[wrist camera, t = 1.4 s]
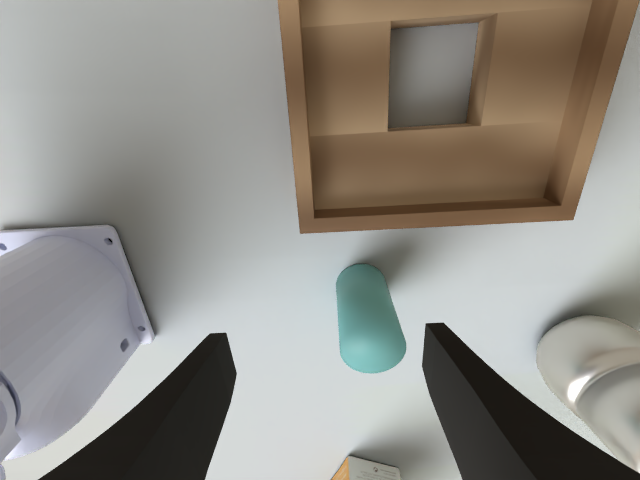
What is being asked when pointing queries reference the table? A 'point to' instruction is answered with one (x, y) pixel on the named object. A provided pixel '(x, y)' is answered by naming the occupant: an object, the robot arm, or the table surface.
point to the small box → (365, 470)
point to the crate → (452, 139)
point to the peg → (367, 321)
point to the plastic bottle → (597, 379)
